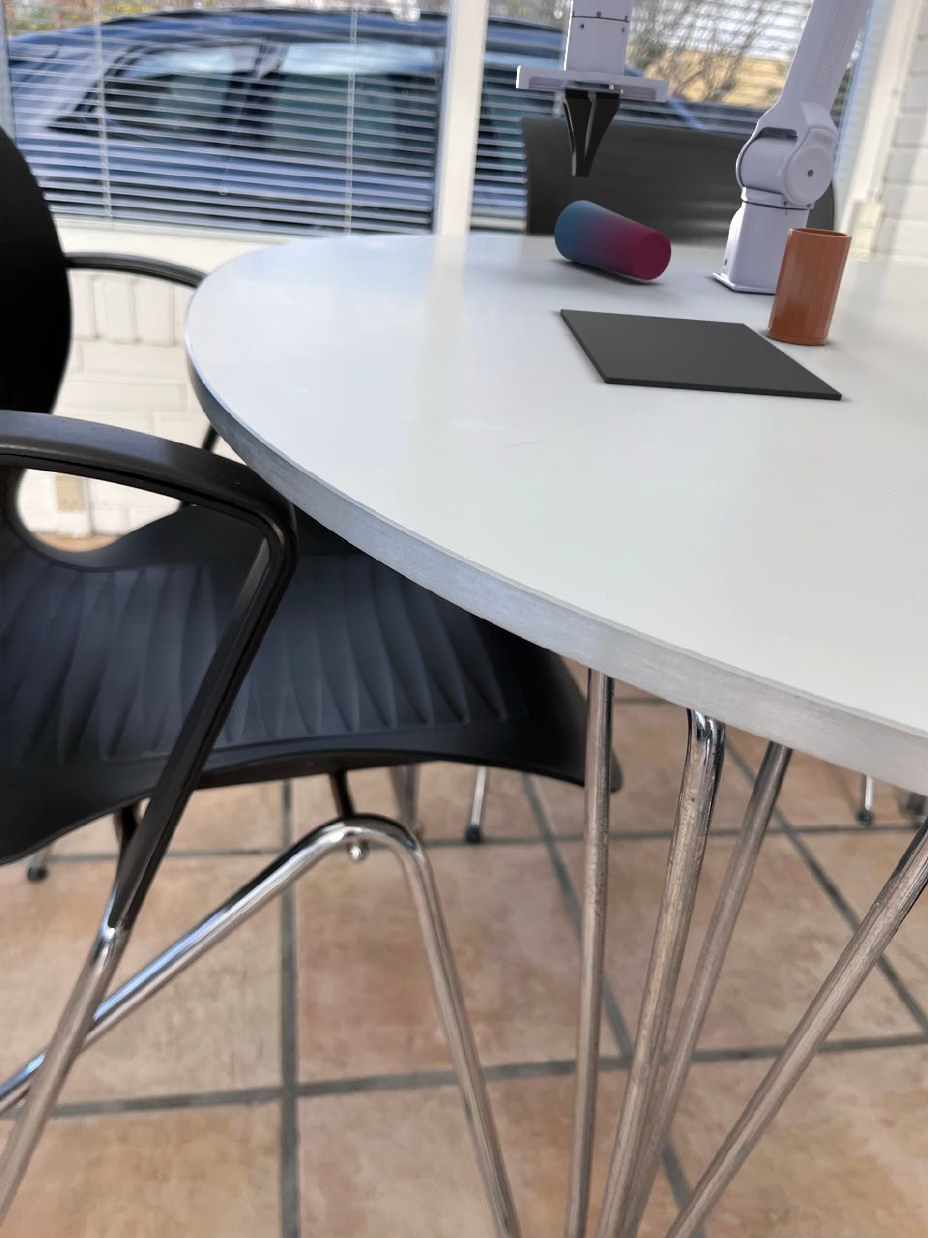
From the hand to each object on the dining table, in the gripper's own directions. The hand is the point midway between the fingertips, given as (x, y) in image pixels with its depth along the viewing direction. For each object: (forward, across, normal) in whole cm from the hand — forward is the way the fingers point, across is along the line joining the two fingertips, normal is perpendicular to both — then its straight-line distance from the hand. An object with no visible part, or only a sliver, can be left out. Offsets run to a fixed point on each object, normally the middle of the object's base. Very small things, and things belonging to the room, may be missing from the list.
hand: (580, 176), depth 103 cm
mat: (+10, +6, -29) cm, 31 cm away
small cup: (+10, +18, -20) cm, 29 cm away
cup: (+7, +9, +3) cm, 12 cm away
